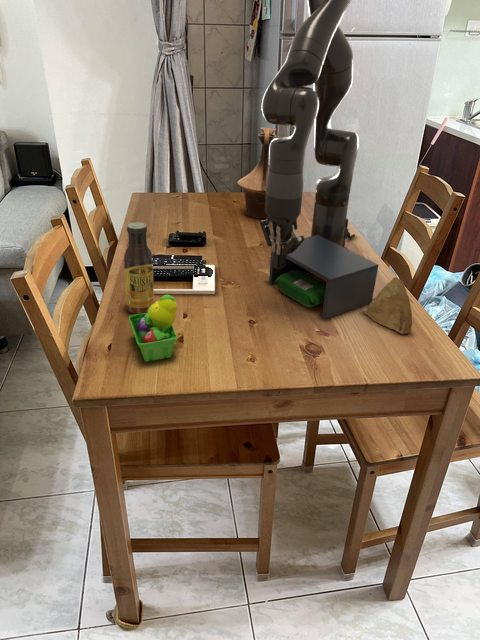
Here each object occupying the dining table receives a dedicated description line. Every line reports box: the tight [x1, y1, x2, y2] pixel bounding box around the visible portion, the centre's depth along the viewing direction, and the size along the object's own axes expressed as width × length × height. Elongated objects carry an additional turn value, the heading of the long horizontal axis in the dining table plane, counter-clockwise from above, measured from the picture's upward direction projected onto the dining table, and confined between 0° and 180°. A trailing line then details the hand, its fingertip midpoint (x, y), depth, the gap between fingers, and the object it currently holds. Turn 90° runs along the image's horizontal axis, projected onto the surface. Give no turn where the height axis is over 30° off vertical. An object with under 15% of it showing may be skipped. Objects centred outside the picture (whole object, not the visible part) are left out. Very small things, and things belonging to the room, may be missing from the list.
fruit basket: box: [128, 294, 178, 362], centre depth 100 cm, size 11×9×11 cm
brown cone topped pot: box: [237, 126, 278, 219], centre depth 166 cm, size 18×17×28 cm
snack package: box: [274, 270, 327, 308], centre depth 121 cm, size 7×16×5 cm, turn 35°
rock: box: [364, 276, 413, 335], centre depth 112 cm, size 11×9×10 cm
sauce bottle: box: [123, 221, 155, 314], centre depth 111 cm, size 6×6×20 cm
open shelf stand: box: [268, 235, 379, 320], centre depth 123 cm, size 15×21×10 cm
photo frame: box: [153, 264, 216, 295], centre depth 128 cm, size 15×1×18 cm
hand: (278, 267), depth 114 cm, fingers closed
